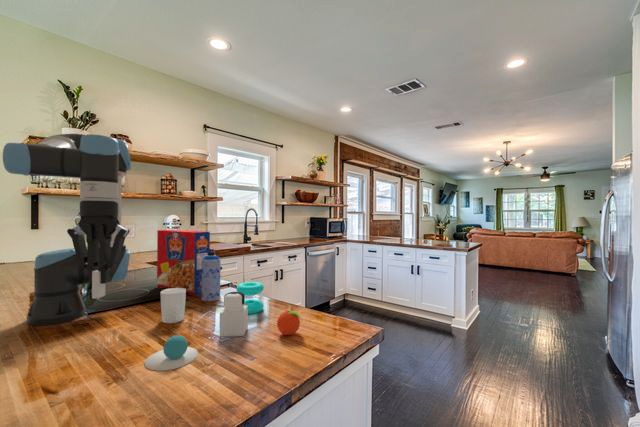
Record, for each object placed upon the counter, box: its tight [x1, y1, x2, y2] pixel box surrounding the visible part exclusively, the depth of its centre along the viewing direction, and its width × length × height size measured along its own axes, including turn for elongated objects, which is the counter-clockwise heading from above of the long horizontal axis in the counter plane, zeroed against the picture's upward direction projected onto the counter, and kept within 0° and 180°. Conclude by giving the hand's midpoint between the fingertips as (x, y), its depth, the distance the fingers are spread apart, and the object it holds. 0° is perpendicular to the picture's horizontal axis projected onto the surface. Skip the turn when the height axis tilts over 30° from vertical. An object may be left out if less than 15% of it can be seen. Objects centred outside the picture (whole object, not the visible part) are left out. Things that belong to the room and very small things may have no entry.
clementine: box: [276, 310, 303, 336], centre depth 89 cm, size 8×7×7 cm
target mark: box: [144, 346, 199, 372], centre depth 74 cm, size 12×12×1 cm
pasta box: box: [156, 229, 211, 297], centre depth 141 cm, size 28×8×28 cm, turn 60°
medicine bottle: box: [219, 291, 249, 338], centre depth 91 cm, size 7×7×12 cm
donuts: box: [236, 281, 265, 315], centre depth 111 cm, size 10×10×10 cm
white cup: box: [160, 288, 187, 324], centre depth 101 cm, size 8×8×10 cm
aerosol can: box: [200, 250, 222, 302], centre depth 126 cm, size 8×8×20 cm
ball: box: [162, 334, 189, 359], centre depth 74 cm, size 6×6×6 cm
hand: (98, 296), depth 72 cm, fingers closed
